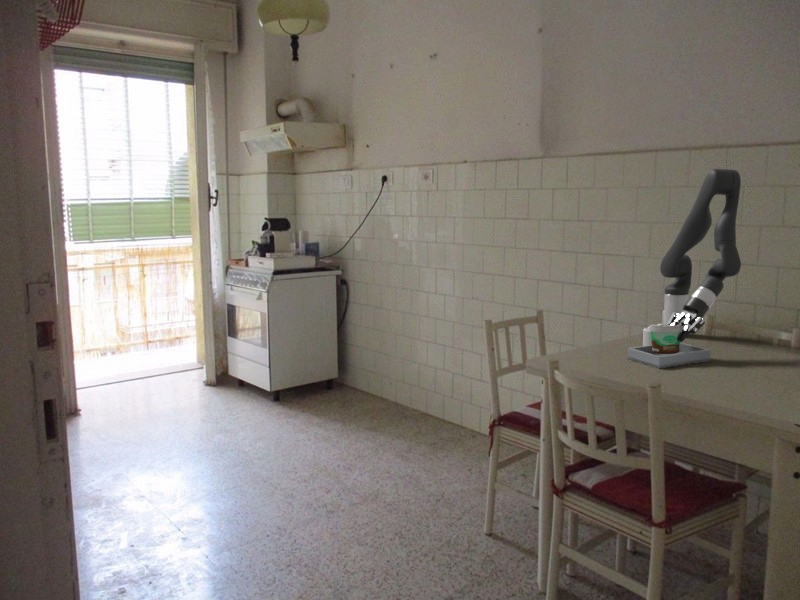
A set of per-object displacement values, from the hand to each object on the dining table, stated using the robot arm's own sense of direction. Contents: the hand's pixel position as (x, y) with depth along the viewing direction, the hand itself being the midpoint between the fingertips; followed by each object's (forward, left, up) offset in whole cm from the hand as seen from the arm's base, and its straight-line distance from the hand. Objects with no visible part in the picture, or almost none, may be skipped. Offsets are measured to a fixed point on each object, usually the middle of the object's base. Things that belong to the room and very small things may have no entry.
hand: (672, 339), depth 236 cm
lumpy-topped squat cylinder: (-17, +10, -8) cm, 21 cm away
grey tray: (0, -2, -7) cm, 8 cm away
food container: (0, -2, -5) cm, 5 cm away
